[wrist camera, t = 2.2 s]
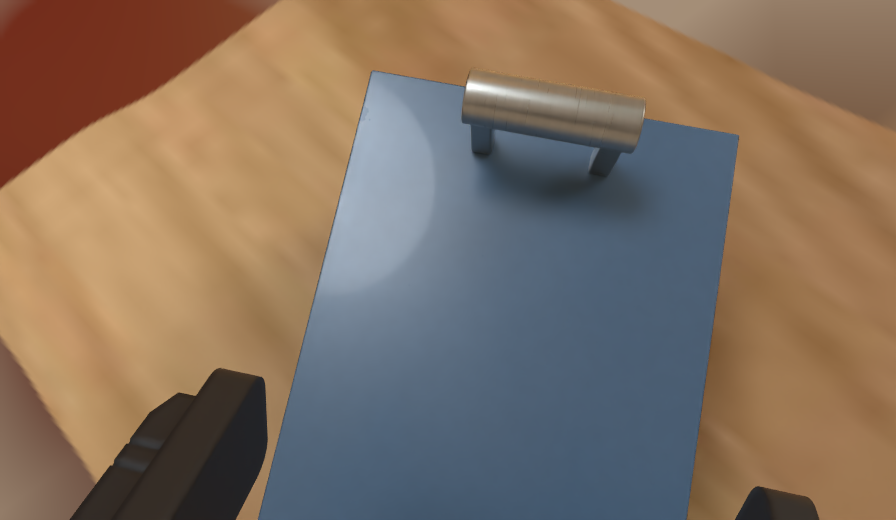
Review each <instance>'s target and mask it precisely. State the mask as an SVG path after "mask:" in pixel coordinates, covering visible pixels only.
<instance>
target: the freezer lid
mask: <svg viewBox="0 0 896 520" xmlns="http://www.w3.org/2000/svg"><path fill="white" fill-rule="evenodd" d="M645 110H646V100H645V98H643V97H638V96H632V95H626V94H620V93H615V92H609V91H603V90H597V89H592V88H586V87H580V86H574V85H569V84H563V83H557V82H551V81H546V80H540V79H534V78H528V77H523V76H517V75H511V74H505V73H500V72H494V71H488V70H483V69H477V68H471V70H470V72H469V74H468V78H467V82H466V86H465V87H464V86H458V85H452V84H447V83H441V82H435V81H430V80H424V79H419V78H413V77H407V76H402V75H396V74H390V73H385V72H379V71H372V72H371V75H370V79H369V83H368V87H367V91H366V95H365V99H364V103H363V107H362V111H361V115H360V119H359V123H358V127H357V131H356V134H355V138H354V142H353V146H352V150H351V154H350V158H349V162H348V166H347V170H346V174H345V178H344V182H343V186H342V190H341V194H340V198H339V201H338V205H337V209H336V213H335V217H334V221H333V225H332V229H331V233H330V237H329V241H328V245H327V249H326V253H325V257H324V261H323V265H322V269H321V272H320V276H319V280H318V284H317V288H316V292H315V296H314V300H313V304H312V308H311V312H310V316H309V320H308V324H307V328H306V332H305V336H304V340H303V343H302V347H301V351H300V355H299V359H298V363H297V367H296V371H295V375H294V379H293V383H292V387H291V391H290V395H289V399H288V403H287V407H286V410H285V414H284V418H283V422H282V426H281V430H280V434H279V438H278V442H277V446H276V450H275V454H274V458H273V462H272V466H271V470H270V474H269V478H268V481H267V485H266V489H265V493H264V497H263V501H262V505H261V509H260V513H259V517H258V520H687V512H688V505H689V498H690V491H691V483H692V476H693V469H694V461H695V454H696V447H697V439H698V432H699V425H700V418H701V410H702V403H703V396H704V388H705V381H706V374H707V367H708V359H709V352H710V345H711V337H712V330H713V323H714V316H715V308H716V301H717V294H718V286H719V279H720V272H721V264H722V257H723V250H724V243H725V235H726V228H727V221H728V213H729V206H730V199H731V192H732V184H733V177H734V170H735V162H736V155H737V148H738V141H739V135H735V134H730V133H724V132H718V131H713V130H707V129H701V128H696V127H690V126H684V125H679V124H673V123H667V122H662V121H656V120H650V119H645V118H644V116H645Z"/></svg>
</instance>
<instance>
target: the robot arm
mask: <svg viewBox="0 0 896 520" xmlns="http://www.w3.org/2000/svg"><path fill="white" fill-rule="evenodd" d="M267 440H268V436H267V414H266V393H265V382H264V379H263V378H262V377H259V376H254V375H250V374H245V373H240V372H236V371H231V370H227V369H222V368H218V369H216V370H215V371H214V372H213V373H212V374H211V375H210V376H209V378H208V379H207V381H206V382H205V384H204V385H203V387H202V388H201V389H200V391H199V392H198V394H197V395H196V396H193V395H188V394H183V393H177V394H176V395H174V396H173V397H171V398H170V399H169V400H167V401H166V402H164V403H163V404H161V405H160V406H158V407H157V408H155V409H154V410H153V411H151V412H150V413H149V414H148V416H147V417H146V418H145V420H144V421H143V422H142V424H141V425H140V426H139V428H138V429H137V430H136V432H135V433H134V434H133V436H132V437H131V438H130V442H129V444H126V445H125V446H124V448H123V449H122V450H121V452H120V453H119V454H118V456H117V457H116V458H115V460H114V464H113V465H112V466H109V468H108V469H107V470H106V472H105V473H104V474H103V476H102V477H101V478H100V480H99V481H98V482H97V484H96V485H95V486H94V488H93V489H92V491H91V492H90V493H89V494H88V496H87V497H86V498H85V500H84V501H83V502H82V504H81V505H80V506H79V508H78V509H77V510H76V512H75V513H74V515H73V516H72V517H71V519H70V520H236V518H237V516H238V514H239V512H240V510H241V508H242V506H243V504H244V502H245V500H246V498H247V496H248V494H249V492H250V490H251V488H252V487H253V485H254V483H255V481H256V479H257V477H258V475H259V472H260V470H261V467H262V464H263V461H264V458H265V454H266V449H267ZM735 520H819V517H818V514H817V511H816V508H815V506H814V504H813V502H812V501H811V500H810V499H809V498H808V497H805V496H800V495H796V494H791V493H787V492H782V491H777V490H773V489H768V488H764V487H759V486H758V487H755V488H753V490H752V491H751V492H750V494H749V495H748V497H747V499H746V501H745V503H744V504H743V506H742V508H741V510H740V512H739V513H738V515H737V517H736V519H735Z"/></svg>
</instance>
